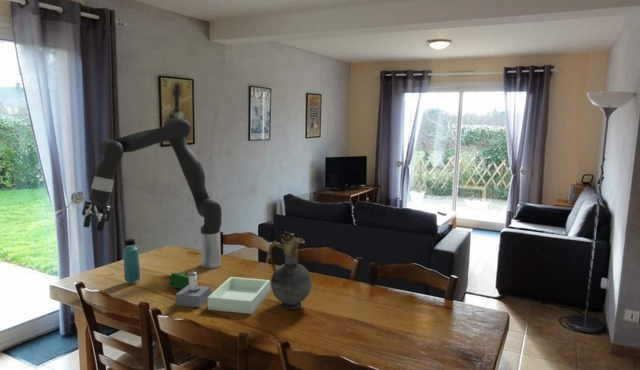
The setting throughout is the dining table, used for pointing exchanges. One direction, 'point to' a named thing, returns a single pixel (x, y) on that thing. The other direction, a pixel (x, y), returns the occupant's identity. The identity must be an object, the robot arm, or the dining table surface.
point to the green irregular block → (179, 280)
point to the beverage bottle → (131, 261)
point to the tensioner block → (193, 296)
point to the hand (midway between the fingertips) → (92, 229)
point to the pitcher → (290, 274)
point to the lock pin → (193, 282)
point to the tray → (239, 295)
